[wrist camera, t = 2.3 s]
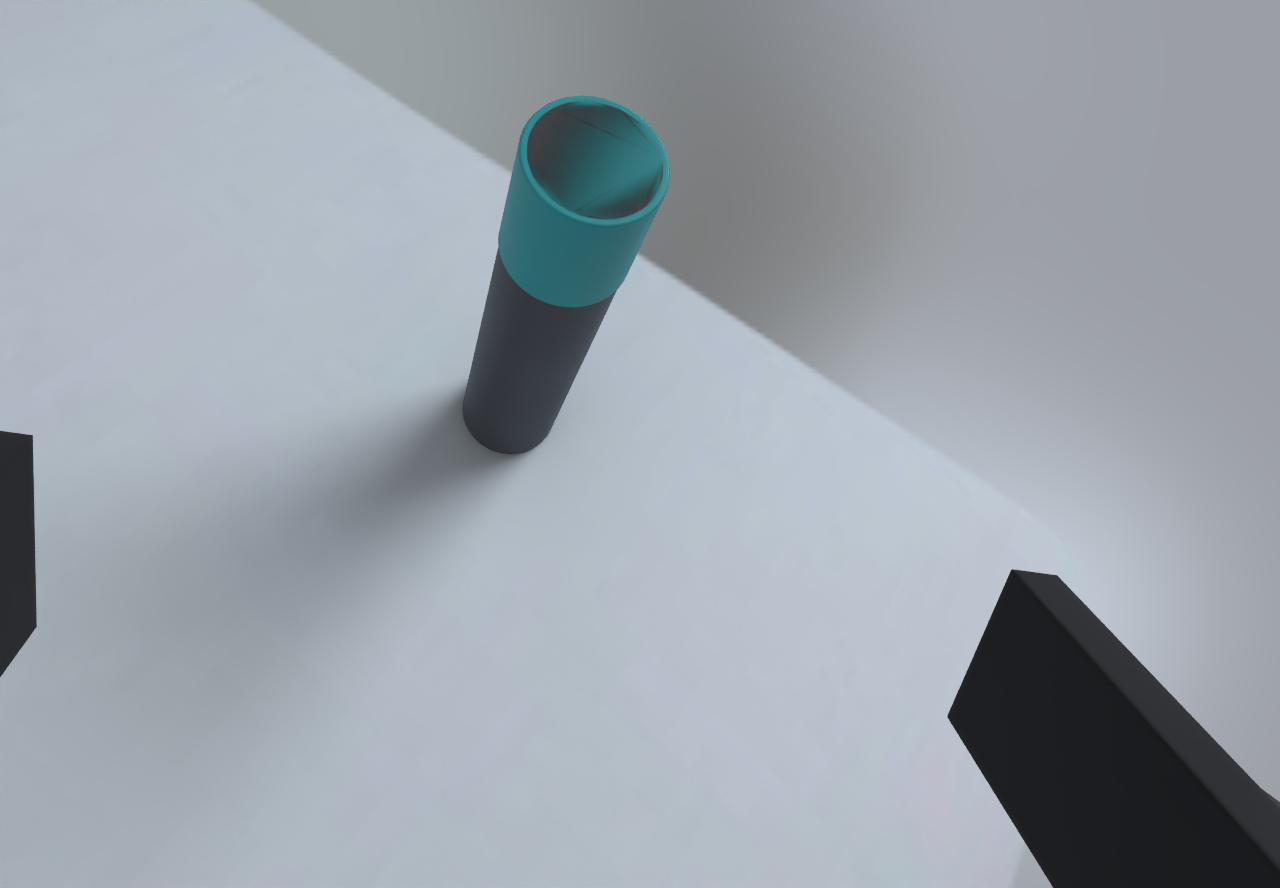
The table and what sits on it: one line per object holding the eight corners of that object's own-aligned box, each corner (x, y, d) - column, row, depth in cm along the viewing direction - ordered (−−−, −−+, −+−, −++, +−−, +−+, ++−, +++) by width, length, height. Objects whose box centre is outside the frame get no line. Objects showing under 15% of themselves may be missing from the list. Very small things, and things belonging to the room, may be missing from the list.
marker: (559, 376, 29) (674, 113, 18) (550, 462, 28) (666, 240, 17) (467, 361, 28) (527, 79, 17) (454, 448, 27) (509, 208, 16)
